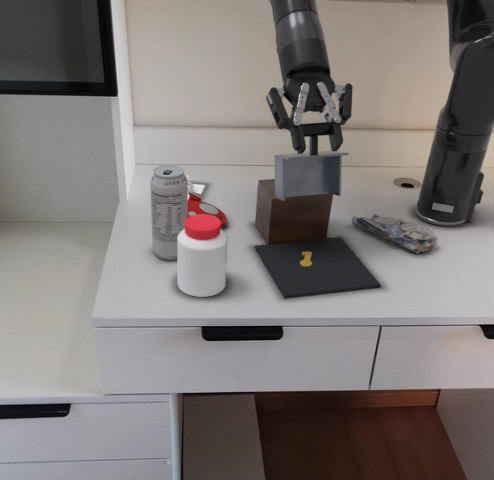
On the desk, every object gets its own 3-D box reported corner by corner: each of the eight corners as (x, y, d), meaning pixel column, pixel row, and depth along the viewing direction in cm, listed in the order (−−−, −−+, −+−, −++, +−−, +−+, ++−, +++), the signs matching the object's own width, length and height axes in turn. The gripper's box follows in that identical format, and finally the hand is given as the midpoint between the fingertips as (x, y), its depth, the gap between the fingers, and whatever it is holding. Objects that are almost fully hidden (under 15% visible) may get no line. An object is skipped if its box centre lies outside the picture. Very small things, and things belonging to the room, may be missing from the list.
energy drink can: (192, 247, 108) (193, 166, 99) (179, 264, 103) (179, 180, 95) (161, 241, 110) (159, 161, 101) (147, 257, 105) (143, 175, 96)
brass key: (298, 264, 102) (298, 266, 102) (311, 266, 101) (311, 268, 101) (302, 250, 105) (302, 252, 106) (315, 252, 105) (314, 254, 105)
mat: (254, 247, 108) (254, 245, 108) (340, 239, 110) (340, 236, 110) (284, 298, 95) (284, 295, 95) (380, 287, 98) (380, 284, 97)
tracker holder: (239, 217, 115) (202, 222, 108) (230, 237, 117) (194, 243, 110) (197, 183, 121) (160, 186, 114) (190, 203, 123) (153, 206, 116)
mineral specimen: (441, 249, 108) (447, 228, 106) (407, 261, 105) (412, 239, 102) (381, 216, 118) (385, 196, 116) (348, 226, 115) (351, 206, 112)
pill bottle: (235, 283, 98) (239, 222, 92) (201, 303, 94) (203, 239, 88) (201, 265, 103) (202, 205, 96) (167, 283, 98) (166, 221, 92)
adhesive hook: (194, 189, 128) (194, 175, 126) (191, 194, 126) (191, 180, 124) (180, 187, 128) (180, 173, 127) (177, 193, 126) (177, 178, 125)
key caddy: (274, 124, 100) (287, 125, 93) (332, 120, 101) (349, 120, 95) (275, 198, 103) (288, 202, 97) (331, 193, 105) (347, 197, 99)
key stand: (254, 225, 115) (258, 179, 110) (310, 219, 117) (316, 175, 111) (267, 245, 108) (271, 198, 103) (326, 239, 110) (333, 193, 105)
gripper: (264, 37, 93) (282, 143, 90) (353, 34, 95) (373, 136, 93) (252, 65, 100) (268, 163, 98) (335, 61, 102) (352, 157, 100)
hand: (319, 150), depth 95 cm, fingers closed on key caddy, 5 cm apart
